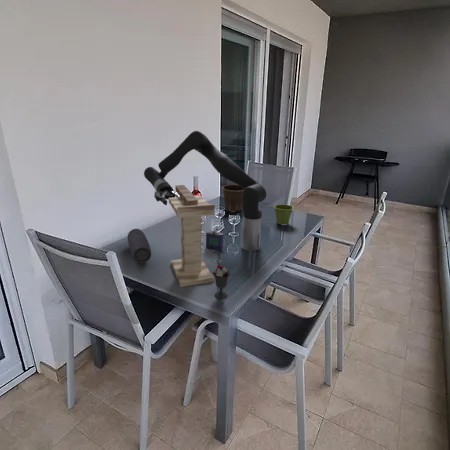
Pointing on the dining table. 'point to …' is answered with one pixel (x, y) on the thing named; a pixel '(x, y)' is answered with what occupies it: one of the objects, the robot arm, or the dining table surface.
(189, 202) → the walnut plank
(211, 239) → the flask
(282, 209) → the plant pot
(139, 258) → the bluetooth speaker
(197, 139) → the robot arm
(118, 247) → the dining table surface
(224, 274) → the sundae
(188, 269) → the birch stand
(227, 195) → the plant pot
